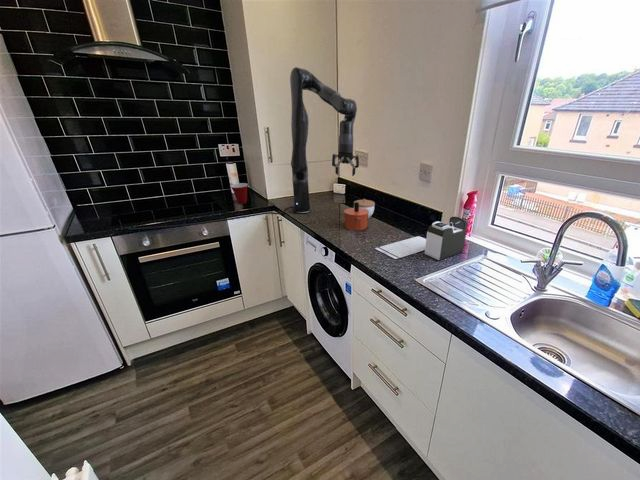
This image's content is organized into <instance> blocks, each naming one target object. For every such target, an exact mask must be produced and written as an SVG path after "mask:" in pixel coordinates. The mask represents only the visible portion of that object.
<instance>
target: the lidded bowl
mask: <svg viewBox="0 0 640 480" xmlns="http://www.w3.org/2000/svg"><path fill="white" fill-rule="evenodd" d="M354 202H359V208H363V209H366V210H368V211H369V213H368V219H370V218H371V217H372V216H373V214H374V212H375V206H376V203H375V201H374V200H370V199H366V198H363V199H357V200H355V201H353V203H354Z"/></svg>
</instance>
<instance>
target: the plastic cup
mask: <svg viewBox="0 0 640 480" xmlns="http://www.w3.org/2000/svg"><path fill="white" fill-rule="evenodd" d="M248 185H249V184H248V183H246V182H239V183H234V184H231V185H230V186H229V187H230V188H231V189H232V191H233V194H234V197H235V199H236V202H237V204H240V205H243V204H247V203H248V202H247V201H248Z"/></svg>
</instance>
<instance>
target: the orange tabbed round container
mask: <svg viewBox="0 0 640 480" xmlns="http://www.w3.org/2000/svg"><path fill="white" fill-rule="evenodd" d="M368 223H369V218H368V214H367V215H363V216H352V215H347V214H345V213H344V228H345V229H347V230H350V231H363V230H366V229H367V228H368V225H369V224H368Z"/></svg>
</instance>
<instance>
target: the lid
mask: <svg viewBox="0 0 640 480" xmlns="http://www.w3.org/2000/svg"><path fill="white" fill-rule="evenodd" d="M343 212H344V215H345V214H347V215H352V216H363V215H367V214H368V213H369V211H368V210H366V209H363V208H359V202H354V201H353V207H350V208H346V209H344V210H343Z"/></svg>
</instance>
